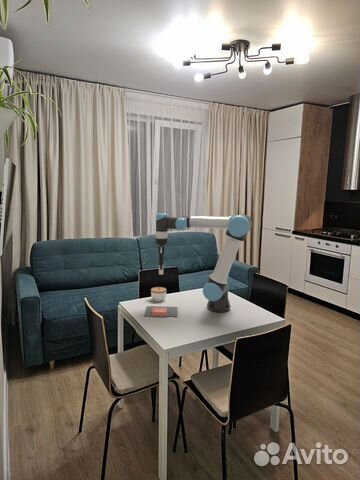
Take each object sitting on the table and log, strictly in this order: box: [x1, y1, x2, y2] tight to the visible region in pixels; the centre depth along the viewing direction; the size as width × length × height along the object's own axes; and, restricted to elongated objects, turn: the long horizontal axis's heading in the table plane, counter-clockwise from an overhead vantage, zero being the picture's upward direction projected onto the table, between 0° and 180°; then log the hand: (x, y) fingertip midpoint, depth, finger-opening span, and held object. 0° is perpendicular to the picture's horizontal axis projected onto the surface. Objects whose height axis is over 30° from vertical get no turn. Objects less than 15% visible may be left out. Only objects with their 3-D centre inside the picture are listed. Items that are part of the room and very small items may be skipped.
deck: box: [152, 308, 167, 316], centre depth 199 cm, size 2×9×8 cm
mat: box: [143, 305, 178, 318], centre depth 204 cm, size 20×16×1 cm
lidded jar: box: [150, 286, 167, 302], centre depth 225 cm, size 11×11×9 cm
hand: (161, 274), depth 209 cm, fingers closed
